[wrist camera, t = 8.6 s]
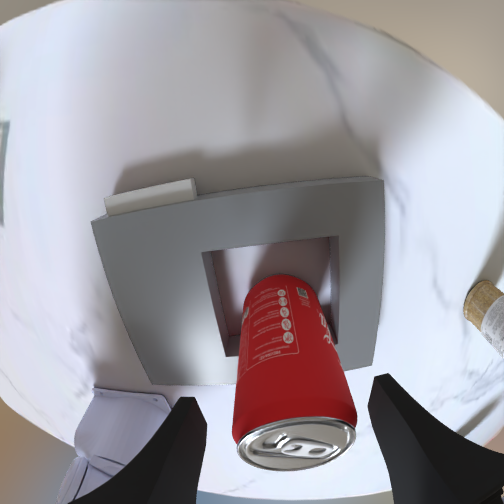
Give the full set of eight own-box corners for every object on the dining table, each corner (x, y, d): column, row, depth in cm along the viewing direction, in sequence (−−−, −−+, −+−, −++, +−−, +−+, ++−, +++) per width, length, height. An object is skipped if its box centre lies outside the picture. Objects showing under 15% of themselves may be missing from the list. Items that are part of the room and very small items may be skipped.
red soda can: (263, 256, 19) (269, 402, 7) (328, 285, 19) (388, 423, 8) (232, 315, 20) (212, 461, 9) (293, 338, 21) (313, 476, 10)
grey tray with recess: (159, 365, 22) (152, 384, 20) (105, 196, 17) (86, 203, 15) (363, 346, 21) (371, 365, 19) (366, 158, 16) (382, 159, 14)
